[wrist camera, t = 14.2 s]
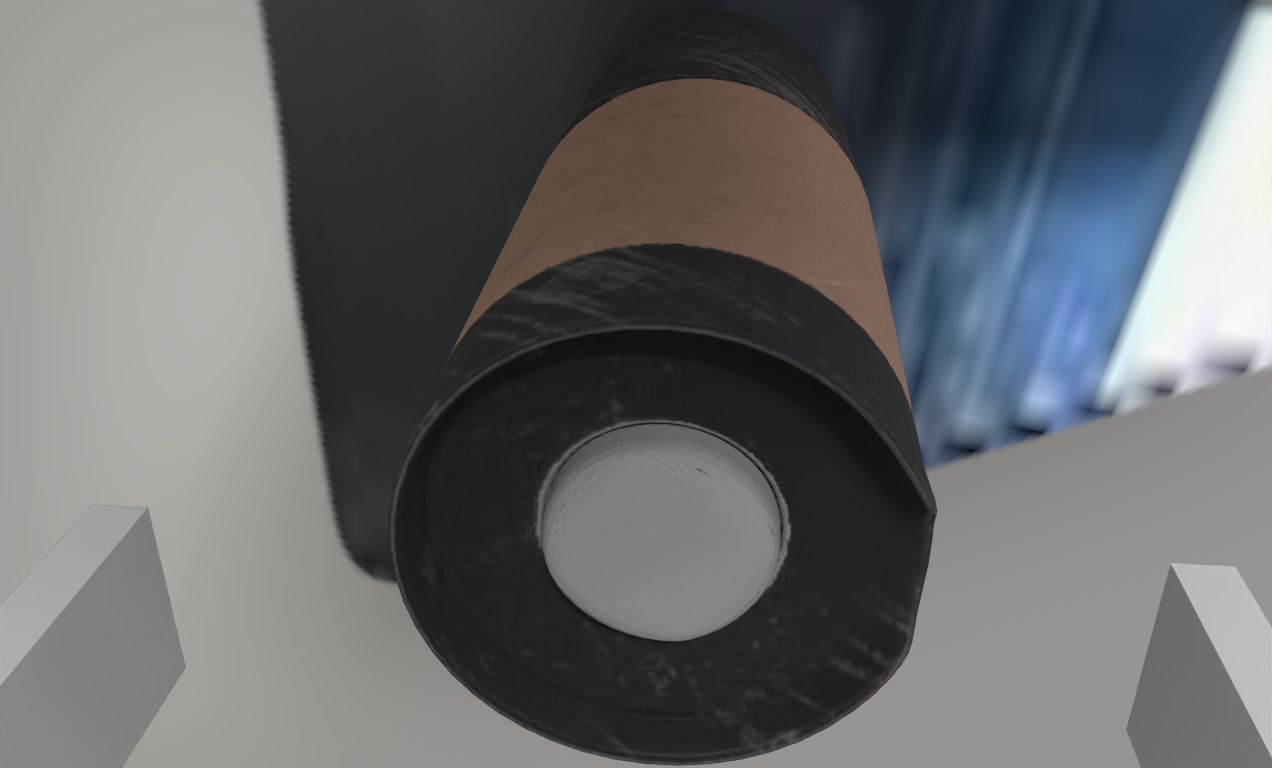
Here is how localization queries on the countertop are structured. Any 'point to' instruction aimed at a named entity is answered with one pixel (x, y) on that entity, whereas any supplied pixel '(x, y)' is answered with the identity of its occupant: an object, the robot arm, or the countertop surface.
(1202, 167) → the countertop surface
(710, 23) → the travel mug
